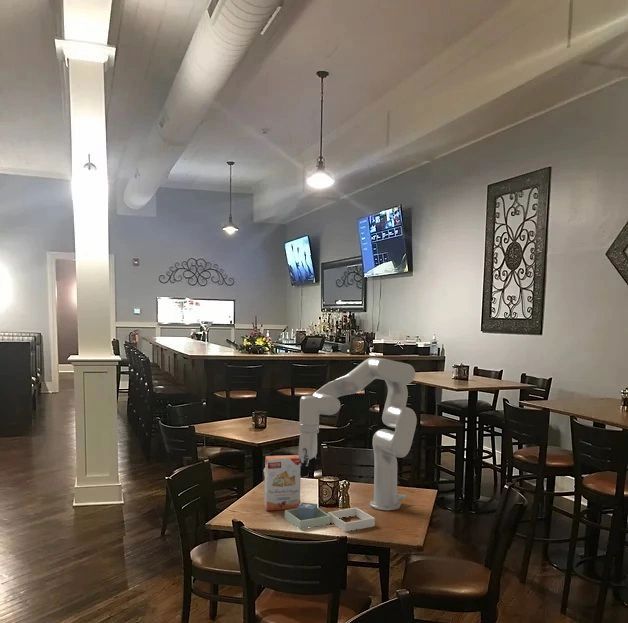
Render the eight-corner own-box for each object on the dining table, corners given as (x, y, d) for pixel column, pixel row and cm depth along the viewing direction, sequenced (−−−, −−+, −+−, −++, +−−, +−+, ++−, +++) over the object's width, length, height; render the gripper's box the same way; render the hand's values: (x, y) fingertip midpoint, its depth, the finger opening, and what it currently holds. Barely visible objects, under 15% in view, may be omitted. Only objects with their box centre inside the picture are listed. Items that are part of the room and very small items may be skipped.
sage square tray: (314, 513, 220) (314, 505, 220) (330, 524, 209) (330, 516, 209) (284, 518, 214) (284, 510, 214) (299, 529, 203) (300, 521, 203)
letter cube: (302, 517, 215) (302, 501, 215) (317, 519, 213) (317, 503, 214) (297, 523, 209) (297, 506, 210) (312, 525, 208) (312, 508, 208)
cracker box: (266, 511, 221) (267, 459, 221) (263, 506, 227) (264, 455, 227) (300, 509, 225) (301, 457, 225) (296, 504, 230) (297, 454, 231)
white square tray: (356, 515, 219) (356, 507, 219) (374, 526, 208) (374, 518, 208) (327, 520, 213) (327, 512, 213) (345, 531, 201) (345, 523, 201)
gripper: (306, 423, 221) (305, 466, 221) (292, 431, 205) (291, 478, 204) (324, 425, 219) (323, 468, 219) (312, 433, 203) (311, 480, 202)
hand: (308, 472), depth 212 cm, fingers open, 9 cm apart
